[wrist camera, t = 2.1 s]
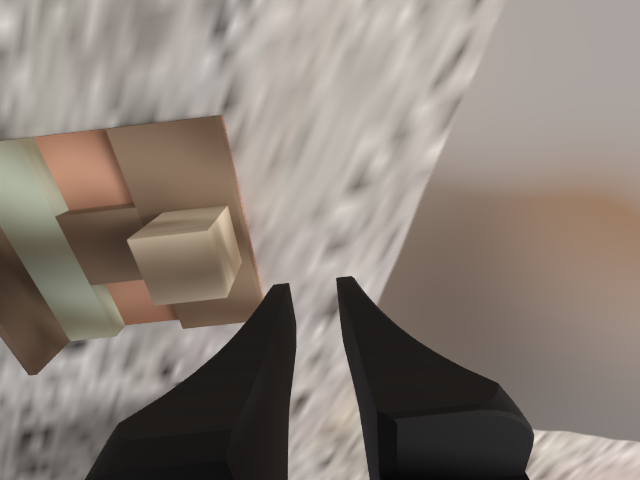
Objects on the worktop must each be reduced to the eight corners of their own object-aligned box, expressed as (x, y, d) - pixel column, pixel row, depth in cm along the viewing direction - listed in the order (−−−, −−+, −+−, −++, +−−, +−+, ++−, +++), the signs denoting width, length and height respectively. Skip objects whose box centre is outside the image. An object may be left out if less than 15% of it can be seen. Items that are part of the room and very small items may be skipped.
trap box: (265, 307, 23) (256, 350, 19) (77, 328, 23) (28, 375, 19) (222, 115, 17) (195, 118, 13) (-29, 144, 18) (-132, 156, 13)
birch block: (241, 262, 20) (226, 297, 16) (182, 268, 20) (154, 305, 16) (227, 205, 18) (207, 230, 14) (162, 212, 18) (126, 239, 15)
